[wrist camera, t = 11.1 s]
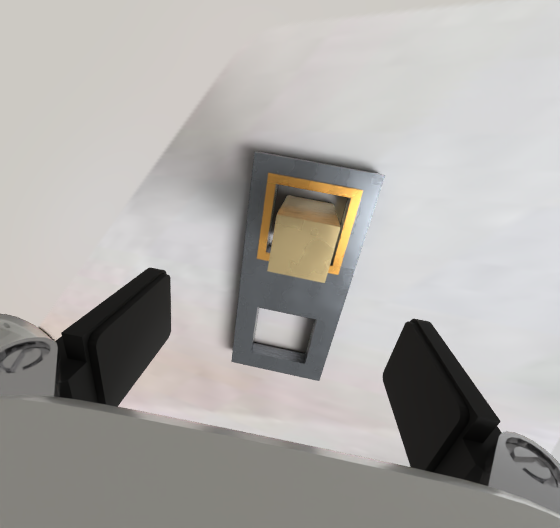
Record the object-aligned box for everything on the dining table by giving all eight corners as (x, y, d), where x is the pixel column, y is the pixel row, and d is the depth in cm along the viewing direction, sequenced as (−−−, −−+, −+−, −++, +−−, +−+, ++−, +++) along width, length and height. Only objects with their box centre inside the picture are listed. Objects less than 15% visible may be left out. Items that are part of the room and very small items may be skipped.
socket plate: (318, 370, 30) (319, 382, 29) (235, 352, 31) (231, 363, 29) (380, 173, 21) (385, 175, 19) (258, 151, 21) (253, 151, 20)
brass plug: (322, 246, 24) (324, 283, 18) (280, 238, 24) (267, 271, 18) (333, 203, 22) (340, 227, 16) (287, 194, 22) (276, 214, 16)
